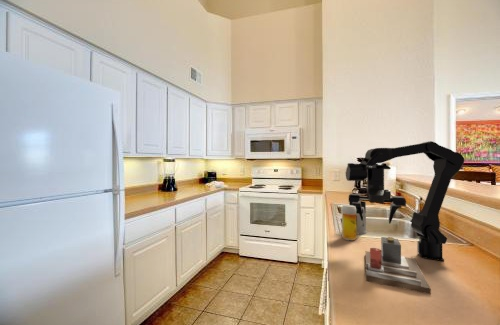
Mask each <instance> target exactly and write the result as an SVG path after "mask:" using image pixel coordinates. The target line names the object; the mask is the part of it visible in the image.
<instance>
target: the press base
mask: <svg viewBox="0 0 500 325" xmlns="http://www.w3.org/2000/svg"><path fill="white" fill-rule="evenodd" d="M364 252H365V255H364V256H365V278H366V280H365V281H366V282H370V283H375V284H380V285H384V286H389V287H394V288H398V289H404V290H408V291H414V292H418V293H422V294H423V293H424V294H428V295H431V294H432V289H431V286H430V285H429V283H428V281H427V279H426V277H425V275H424V274H423V272H422V270H421V268H420V267H419V265H418V263H417V261H416V259H415V258H412V257H406V256H404V255H401V264H397V263H391V262H385V261H383V259H382V255H381V265H383V268H384V273H380V272H374V271H369V270H368V263H370V251H368V250H367V251H366V250H365V251H364Z"/></svg>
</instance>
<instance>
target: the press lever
mask: <svg viewBox="0 0 500 325" xmlns="http://www.w3.org/2000/svg"><path fill="white" fill-rule="evenodd" d="M369 252H370V263H368V270H369V271H374V272H380V273H384V268H383V265H381V249H380V248H377V247H370V248H369Z"/></svg>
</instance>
